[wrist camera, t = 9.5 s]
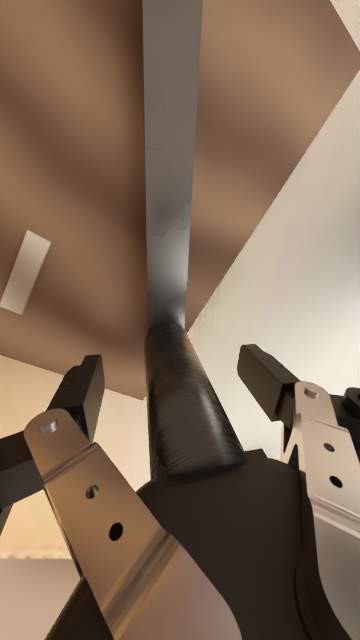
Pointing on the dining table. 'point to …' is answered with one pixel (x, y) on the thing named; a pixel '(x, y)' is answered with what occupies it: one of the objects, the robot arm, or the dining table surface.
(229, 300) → the dining table surface
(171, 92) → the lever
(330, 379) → the dining table surface
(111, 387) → the board
